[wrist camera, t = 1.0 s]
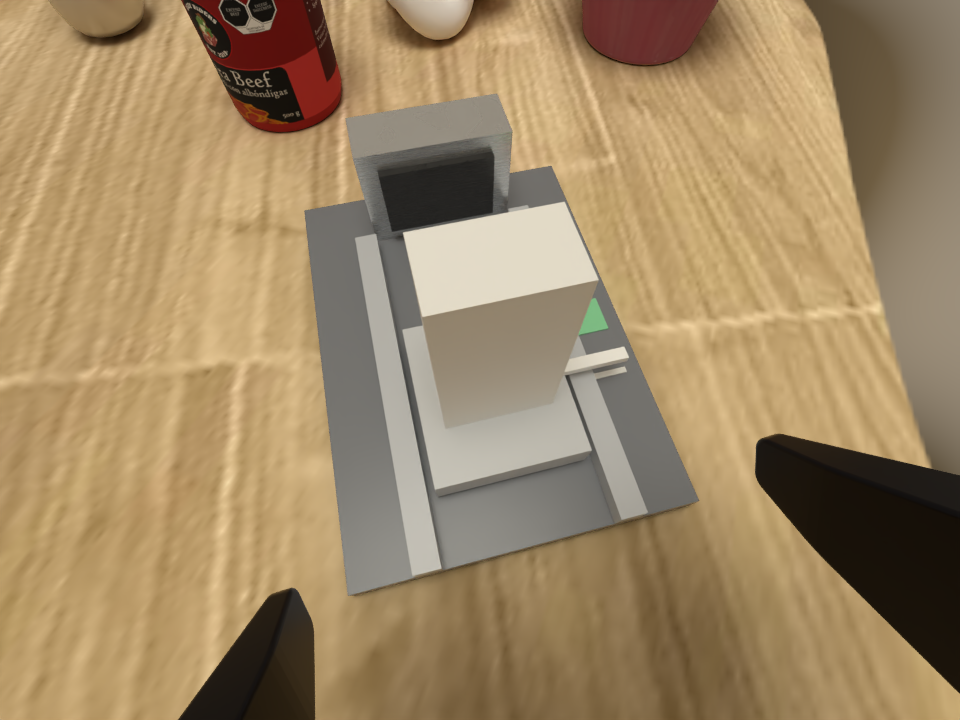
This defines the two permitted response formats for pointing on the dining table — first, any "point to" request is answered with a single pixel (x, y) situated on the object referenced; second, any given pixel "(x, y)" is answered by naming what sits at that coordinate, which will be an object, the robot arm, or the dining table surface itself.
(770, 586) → the dining table surface
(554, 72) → the dining table surface
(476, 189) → the grey block with recess
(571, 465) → the track
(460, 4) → the white knot sculpture
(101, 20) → the plastic bottle
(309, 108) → the canned food
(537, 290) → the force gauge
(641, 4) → the plant pot
